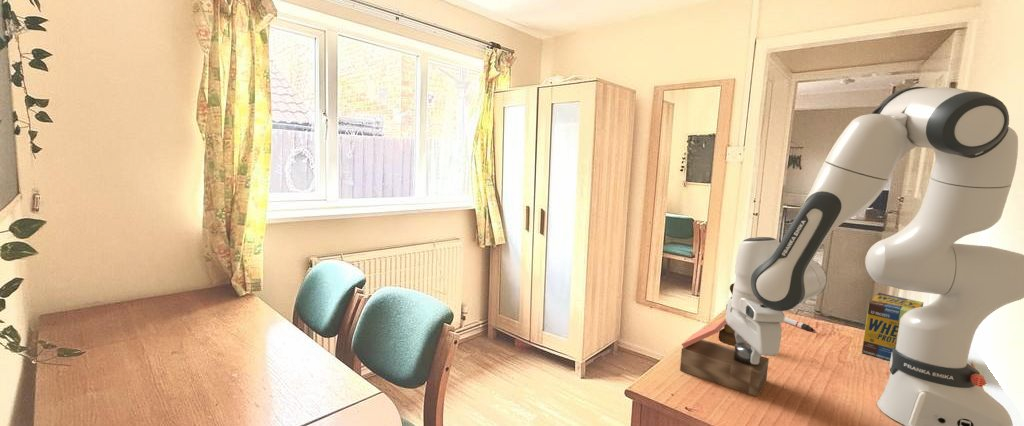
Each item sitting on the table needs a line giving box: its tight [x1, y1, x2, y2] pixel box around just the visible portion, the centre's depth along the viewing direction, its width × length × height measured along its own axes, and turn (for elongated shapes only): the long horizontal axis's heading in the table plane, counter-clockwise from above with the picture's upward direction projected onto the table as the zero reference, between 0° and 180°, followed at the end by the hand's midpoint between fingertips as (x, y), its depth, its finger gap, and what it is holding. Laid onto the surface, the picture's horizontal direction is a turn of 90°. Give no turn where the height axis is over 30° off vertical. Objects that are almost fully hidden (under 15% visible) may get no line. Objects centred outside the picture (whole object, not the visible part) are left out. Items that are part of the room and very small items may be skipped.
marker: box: [783, 316, 816, 332], centre depth 147 cm, size 15×2×2 cm, turn 22°
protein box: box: [861, 292, 924, 362], centre depth 126 cm, size 10×15×16 cm
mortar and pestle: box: [718, 283, 736, 346], centre depth 131 cm, size 7×6×18 cm
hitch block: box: [679, 339, 770, 397], centre depth 110 cm, size 18×10×6 cm, turn 49°
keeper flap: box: [681, 319, 727, 348], centre depth 113 cm, size 10×9×1 cm
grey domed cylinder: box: [734, 342, 760, 366], centre depth 107 cm, size 6×6×8 cm
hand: (746, 356), depth 106 cm, fingers closed on grey domed cylinder, 5 cm apart
